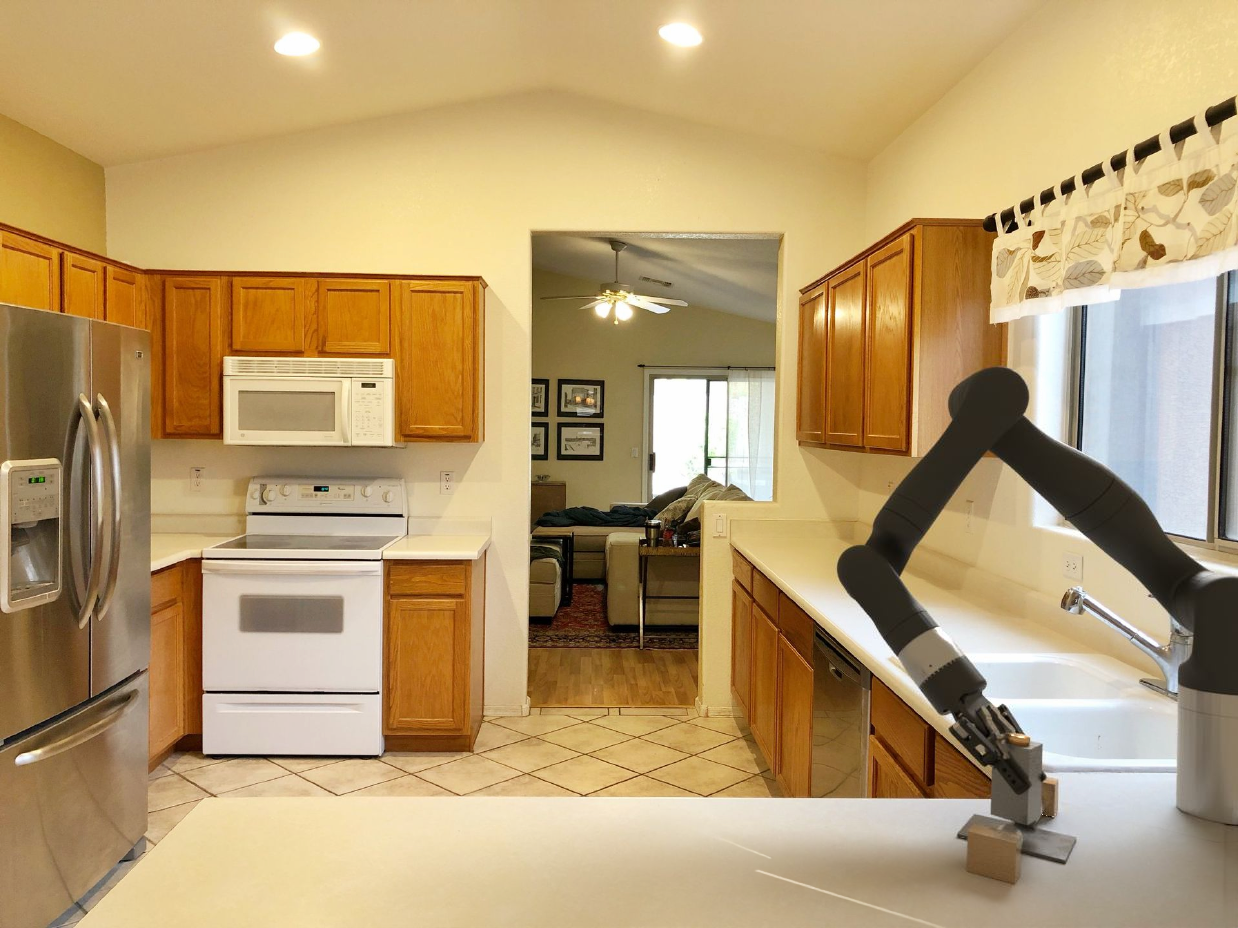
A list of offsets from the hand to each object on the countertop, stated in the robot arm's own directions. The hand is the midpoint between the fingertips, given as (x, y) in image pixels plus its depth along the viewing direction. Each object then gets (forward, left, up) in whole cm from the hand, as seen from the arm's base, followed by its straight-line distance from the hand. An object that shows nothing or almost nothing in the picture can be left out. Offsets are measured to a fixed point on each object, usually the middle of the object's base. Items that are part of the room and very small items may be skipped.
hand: (1032, 786), depth 106 cm
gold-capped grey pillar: (0, -2, -4) cm, 5 cm away
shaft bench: (0, -2, -7) cm, 7 cm away
